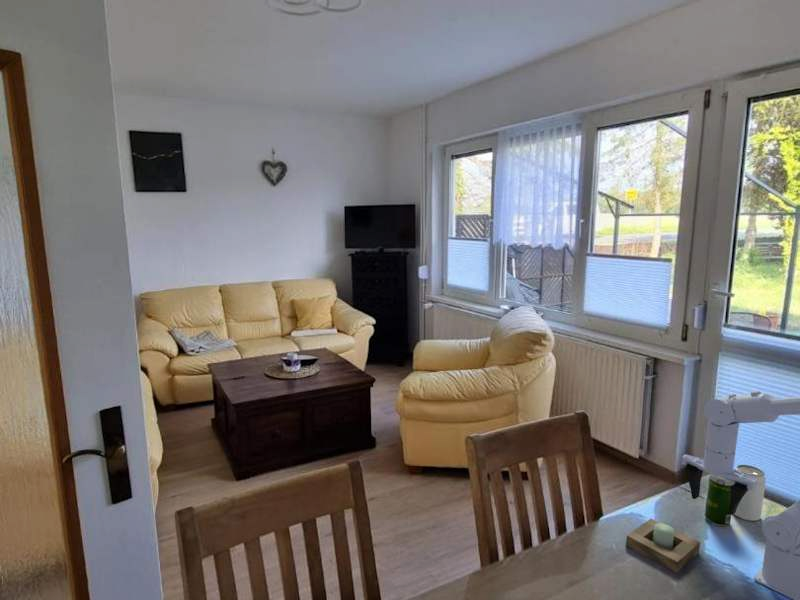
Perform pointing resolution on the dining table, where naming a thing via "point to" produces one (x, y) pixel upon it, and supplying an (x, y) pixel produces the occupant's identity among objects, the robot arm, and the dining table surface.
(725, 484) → the beer can
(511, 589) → the dining table surface
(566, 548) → the dining table surface
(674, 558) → the socket
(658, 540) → the peg
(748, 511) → the can
